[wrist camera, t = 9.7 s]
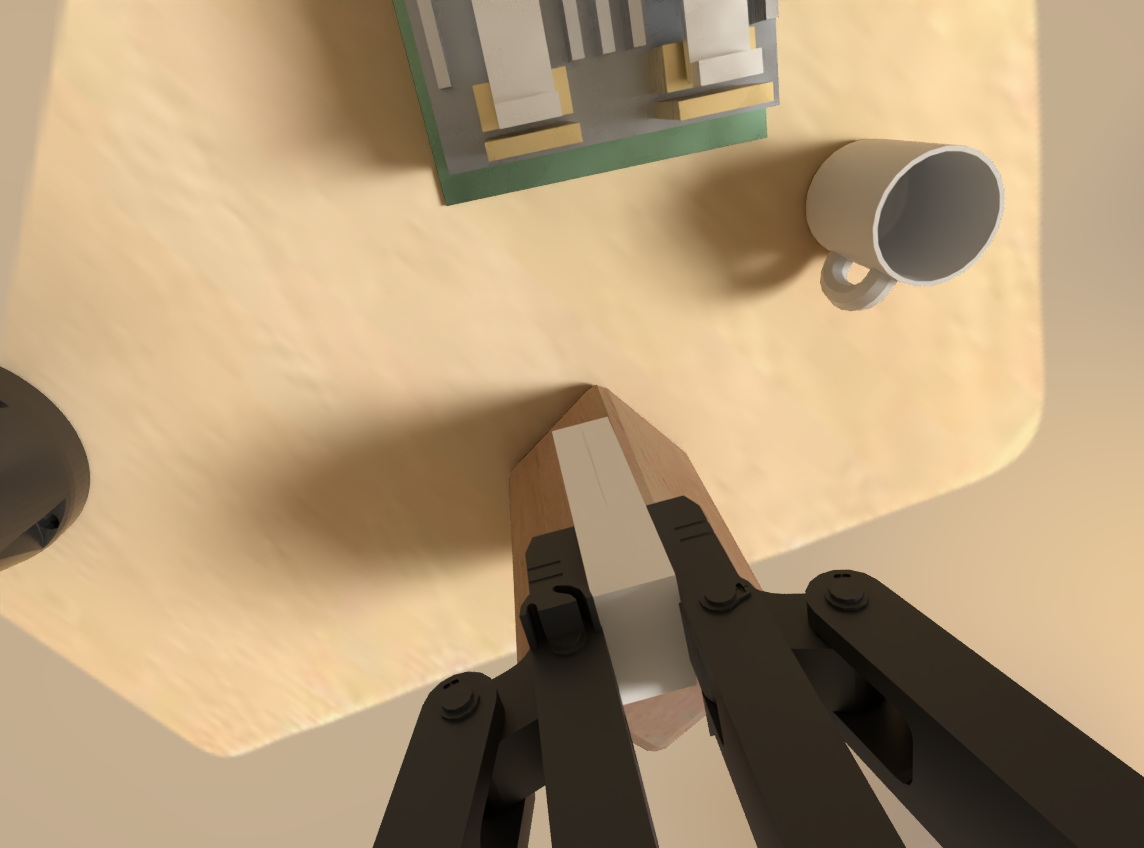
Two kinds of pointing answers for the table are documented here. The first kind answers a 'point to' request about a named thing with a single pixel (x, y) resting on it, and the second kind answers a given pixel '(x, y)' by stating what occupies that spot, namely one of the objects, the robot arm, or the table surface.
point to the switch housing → (579, 93)
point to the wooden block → (658, 479)
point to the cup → (901, 215)
